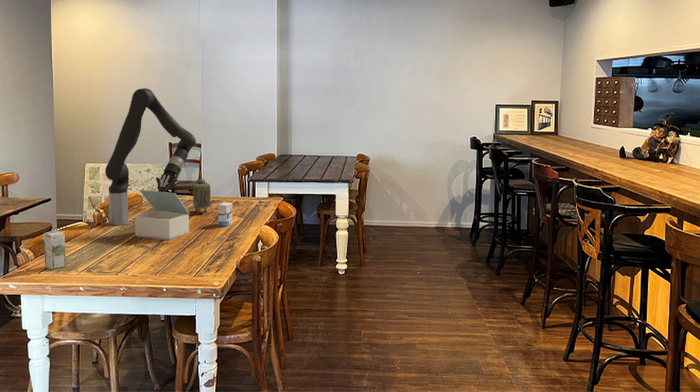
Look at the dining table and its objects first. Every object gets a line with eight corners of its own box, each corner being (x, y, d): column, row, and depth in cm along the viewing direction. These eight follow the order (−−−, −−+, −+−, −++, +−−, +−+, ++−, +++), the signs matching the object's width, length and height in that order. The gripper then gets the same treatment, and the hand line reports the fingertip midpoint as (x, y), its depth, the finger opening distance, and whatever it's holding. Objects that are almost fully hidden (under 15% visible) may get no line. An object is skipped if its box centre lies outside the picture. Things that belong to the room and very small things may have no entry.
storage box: (135, 236, 302) (134, 216, 301) (156, 229, 317) (155, 210, 315) (169, 240, 296) (169, 220, 294) (189, 233, 310) (188, 214, 309)
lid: (139, 190, 303) (140, 189, 303) (155, 210, 315) (155, 209, 316) (174, 194, 296) (175, 193, 296) (189, 214, 309) (189, 213, 309)
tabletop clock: (193, 210, 368) (192, 169, 364) (208, 209, 371) (208, 169, 367) (194, 215, 355) (194, 172, 351) (210, 214, 357) (210, 172, 353)
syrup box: (58, 264, 252) (56, 230, 250) (66, 266, 249) (64, 232, 246) (45, 267, 248) (42, 232, 245) (53, 270, 244) (50, 234, 242)
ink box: (226, 227, 327) (226, 205, 325) (218, 226, 328) (217, 204, 326) (232, 223, 335) (232, 202, 333) (224, 223, 336) (224, 202, 334)
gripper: (160, 161, 310) (145, 188, 301) (182, 163, 306) (167, 190, 296) (166, 170, 316) (152, 197, 307) (188, 172, 312) (174, 199, 302)
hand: (160, 194), depth 302 cm, fingers closed
